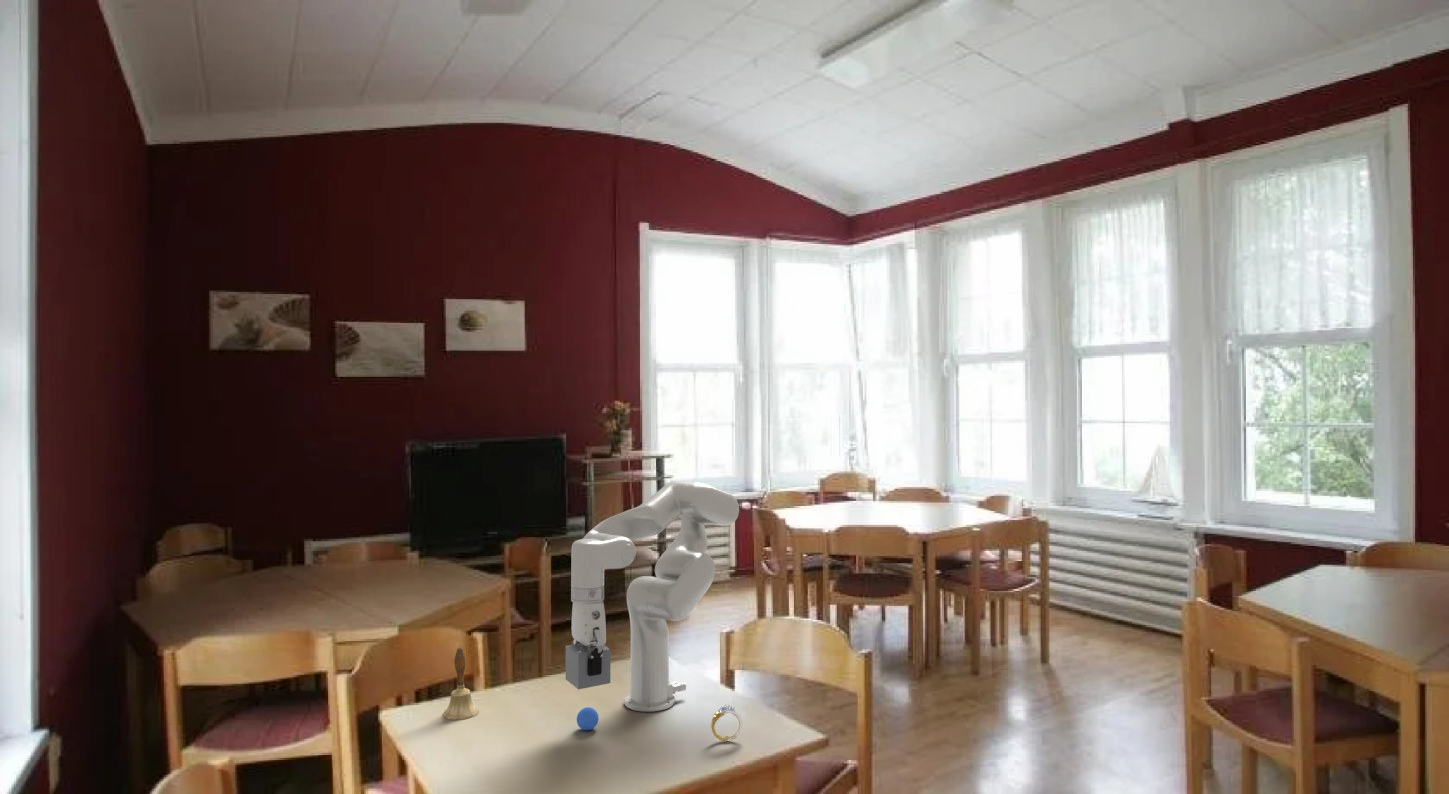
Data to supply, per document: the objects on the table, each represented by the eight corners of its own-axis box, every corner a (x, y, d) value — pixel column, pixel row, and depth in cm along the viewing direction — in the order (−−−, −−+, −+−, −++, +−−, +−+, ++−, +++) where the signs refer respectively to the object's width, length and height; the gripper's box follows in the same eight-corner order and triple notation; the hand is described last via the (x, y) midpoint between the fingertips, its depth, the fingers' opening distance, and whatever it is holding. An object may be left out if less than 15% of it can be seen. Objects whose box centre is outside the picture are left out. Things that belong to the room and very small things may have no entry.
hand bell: (468, 721, 203) (468, 654, 203) (436, 718, 205) (436, 652, 204) (484, 708, 211) (484, 644, 211) (453, 706, 213) (453, 642, 213)
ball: (589, 700, 201) (570, 711, 198) (598, 707, 197) (578, 718, 194) (595, 719, 202) (577, 730, 199) (604, 726, 198) (585, 737, 195)
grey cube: (596, 673, 203) (596, 640, 203) (610, 683, 196) (610, 649, 196) (565, 679, 199) (565, 645, 199) (578, 689, 192) (578, 654, 192)
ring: (742, 738, 193) (742, 703, 193) (742, 744, 190) (742, 708, 190) (711, 739, 193) (711, 703, 193) (711, 744, 190) (711, 708, 190)
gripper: (618, 599, 192) (618, 677, 192) (587, 584, 207) (587, 657, 207) (587, 603, 188) (586, 683, 188) (558, 588, 203) (557, 662, 203)
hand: (587, 669), depth 198 cm, fingers closed on grey cube, 8 cm apart
